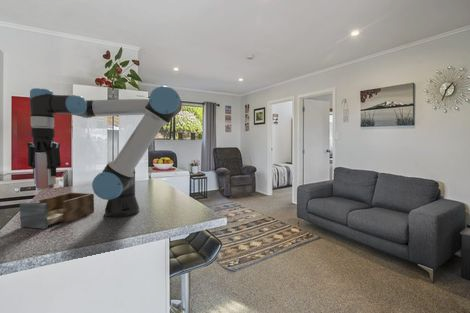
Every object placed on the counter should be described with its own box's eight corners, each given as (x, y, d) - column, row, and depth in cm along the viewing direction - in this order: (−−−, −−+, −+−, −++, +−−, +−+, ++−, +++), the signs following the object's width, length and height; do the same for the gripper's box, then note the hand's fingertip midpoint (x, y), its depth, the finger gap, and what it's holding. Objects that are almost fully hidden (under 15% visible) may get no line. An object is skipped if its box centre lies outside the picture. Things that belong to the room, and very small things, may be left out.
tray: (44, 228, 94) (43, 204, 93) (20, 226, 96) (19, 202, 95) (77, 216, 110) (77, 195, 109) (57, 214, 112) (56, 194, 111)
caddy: (65, 222, 102) (65, 201, 102) (40, 220, 105) (39, 199, 104) (94, 211, 118) (93, 193, 118) (71, 210, 120) (70, 192, 120)
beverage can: (32, 189, 98) (30, 152, 97) (46, 186, 104) (45, 151, 103) (44, 190, 97) (42, 152, 96) (57, 187, 102) (56, 152, 101)
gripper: (70, 128, 100) (72, 183, 102) (32, 128, 104) (35, 181, 105) (54, 127, 93) (56, 186, 95) (14, 127, 97) (16, 184, 98)
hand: (45, 183), depth 100 cm, fingers closed on beverage can, 6 cm apart
